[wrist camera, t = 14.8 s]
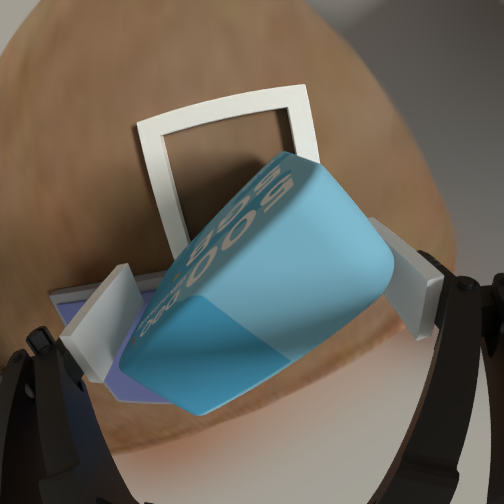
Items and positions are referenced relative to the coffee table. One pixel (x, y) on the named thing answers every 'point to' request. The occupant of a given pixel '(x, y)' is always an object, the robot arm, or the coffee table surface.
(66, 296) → the ink pad
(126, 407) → the coffee table surface
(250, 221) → the data package
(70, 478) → the robot arm
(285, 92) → the frame
